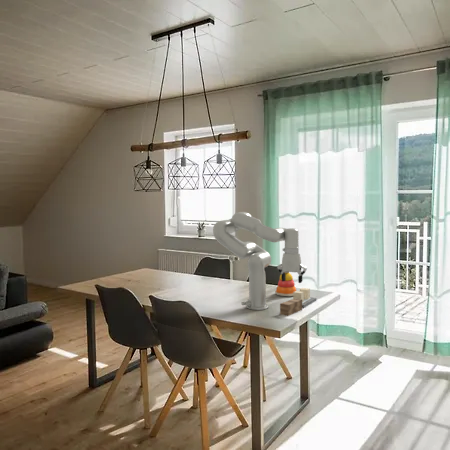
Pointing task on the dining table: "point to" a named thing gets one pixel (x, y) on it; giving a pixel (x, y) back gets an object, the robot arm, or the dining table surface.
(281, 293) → the stacking toy
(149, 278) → the dining table surface
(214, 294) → the dining table surface
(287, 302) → the walnut beam
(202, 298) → the dining table surface
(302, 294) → the plate
